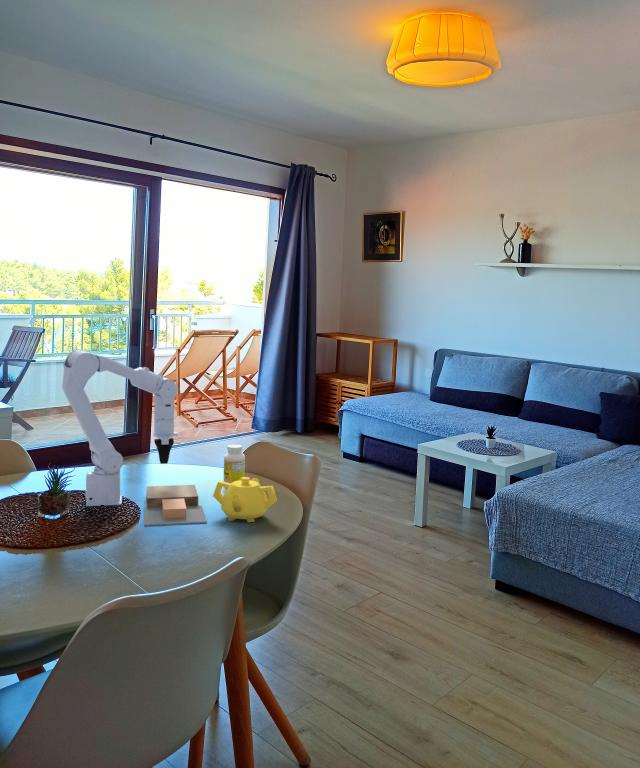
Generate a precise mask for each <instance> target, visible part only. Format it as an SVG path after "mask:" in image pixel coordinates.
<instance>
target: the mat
mask: <svg viewBox="0 0 640 768" xmlns="http://www.w3.org/2000/svg"><path fill="white" fill-rule="evenodd" d="M143 520H144V521H143V522H144V523H143V524H144V527H153V526H154V527H155V526H174V525H194V524H195V525H197V524H207V523H208V521H207V518H206V515H205V511H204V508H203V506H202V505H198V506H186V518H165V519H163V512H162V507H158V508H147V507H144V508H143Z"/></svg>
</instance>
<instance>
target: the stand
mask: <svg viewBox="0 0 640 768" xmlns="http://www.w3.org/2000/svg"><path fill="white" fill-rule="evenodd" d="M162 499H184V501H185V505H186V506H199V494H198V491H197V488H196V485H195V484H181V485H179V484H178V485H150V486H149V485H148V486H146V508H158V507H162Z"/></svg>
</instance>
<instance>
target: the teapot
mask: <svg viewBox="0 0 640 768" xmlns="http://www.w3.org/2000/svg"><path fill="white" fill-rule="evenodd" d="M222 488H225V489H226V490H225V492H224V494H222V490H223V489H222ZM266 492H267V493H266ZM212 497H213V498H214V499H215V500H216V501H217V502H218V503H219V504H220V509H221V510H222V512H223V513H224V515H226V516H227V517H228V518H227V521H228V522H229V521H230V522H234V521H233V520H235V521H236V520H238V519H239V520H246V523H248V522H254V521H255V520H256V519H257V518H260V517H262V516H263V515H264V514H265V513H266V512H267V510H268V509H269V508H270V507H272V505H273V504H275V503H277V502H278V499H277V494H276V490H275V488H274V485H267V486H261V484H260V479H259V478H256V477H252V479H251V477H248V476H245V477H242V478H241V480H238V481H234V482H232V483H227V482H224V480H218V482H217V483H216V487H215V489H214V491H213V494H212ZM255 522H256V521H255ZM255 522H254V523H255Z"/></svg>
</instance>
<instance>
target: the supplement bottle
mask: <svg viewBox="0 0 640 768" xmlns="http://www.w3.org/2000/svg"><path fill="white" fill-rule="evenodd" d="M226 449H227V453H225V454H224V457H223V482H227V483H232V482H234V481H238V480H241V478H242V477H246V475H245V474H246V473H245V472H246V471H245V470H246V456H245V454H244V453H243V445H241V444H228V445H227V447H226Z"/></svg>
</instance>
